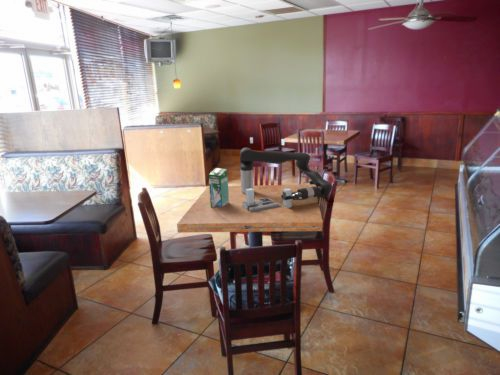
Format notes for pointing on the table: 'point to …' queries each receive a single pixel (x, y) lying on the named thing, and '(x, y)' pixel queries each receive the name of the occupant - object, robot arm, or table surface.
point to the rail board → (261, 205)
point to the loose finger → (285, 193)
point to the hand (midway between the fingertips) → (283, 197)
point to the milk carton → (218, 187)
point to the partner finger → (250, 196)
